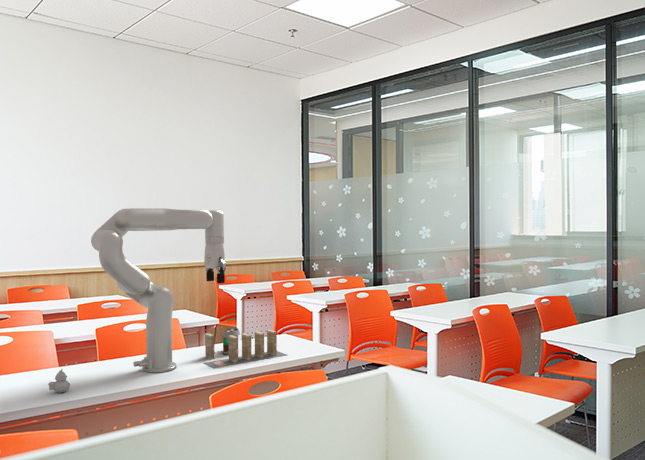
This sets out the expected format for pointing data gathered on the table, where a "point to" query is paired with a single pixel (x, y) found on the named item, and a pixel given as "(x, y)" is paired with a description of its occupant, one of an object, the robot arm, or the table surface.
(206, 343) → the domino
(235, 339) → the domino
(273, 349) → the domino
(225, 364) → the domino mat
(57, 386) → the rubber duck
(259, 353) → the domino
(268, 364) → the table surface
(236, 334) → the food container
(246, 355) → the domino
